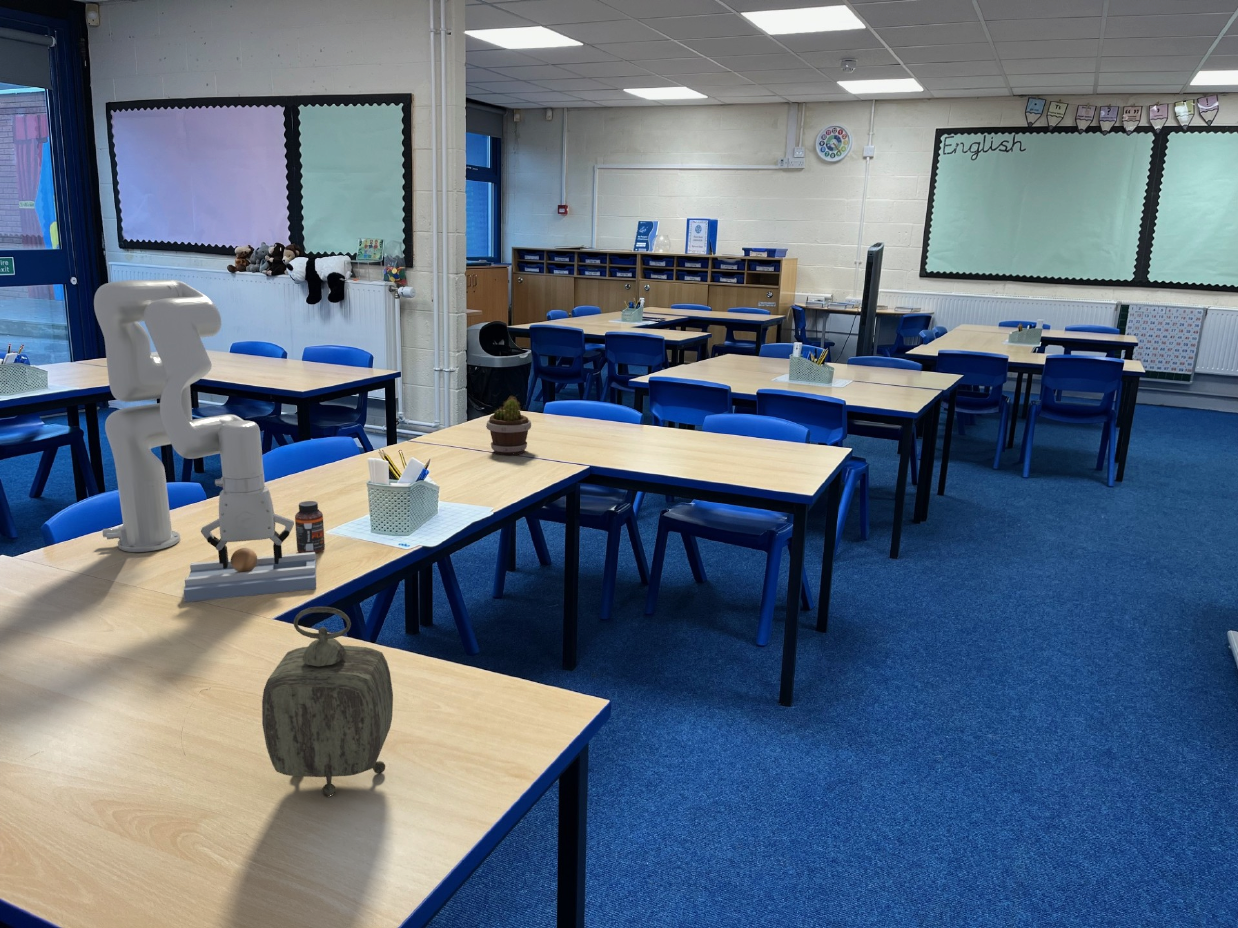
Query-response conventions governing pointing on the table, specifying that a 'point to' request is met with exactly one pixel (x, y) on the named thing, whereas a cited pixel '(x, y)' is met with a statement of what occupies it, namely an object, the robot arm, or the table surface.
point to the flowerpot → (509, 429)
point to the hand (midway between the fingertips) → (251, 564)
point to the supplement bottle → (309, 528)
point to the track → (251, 578)
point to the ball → (244, 560)
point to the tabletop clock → (327, 707)
